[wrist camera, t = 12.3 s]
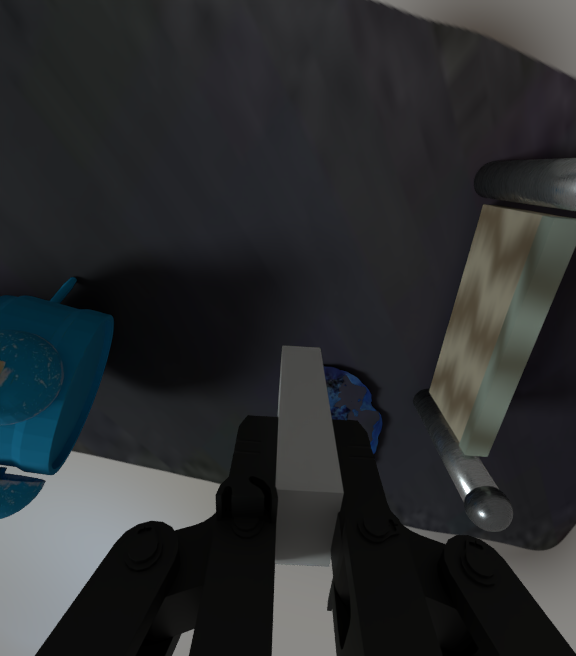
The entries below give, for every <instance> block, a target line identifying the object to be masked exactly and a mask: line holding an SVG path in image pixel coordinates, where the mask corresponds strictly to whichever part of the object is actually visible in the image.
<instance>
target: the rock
mask: <svg viewBox="0 0 576 656" xmlns="http://www.w3.org/2000/svg"><path fill="white" fill-rule="evenodd" d="M323 368H324V374H325V380H326V387H327V393H328V399H329V405H330V411H331V417H332V419H337V420H347V414H348V413H349V412H350V410H349V409H348V408H347V407H346V405H344V406H342V407H341V408H340V409H338V408H339V407H334V405H335V404H336V402H338V401H339V400H340V399H341V398H338V394H339V393H340V392H339V385H341V384H342V383H343V380H342V379H343V376H344V375H346V376H348V377H349V379H350V381H351V382H352V383H353V384H355V385H359V386H364V387H366V386H365V385H364V384H363V383H361V381H360V380H359V379H358V378H357V377H355V376H354V375H352V374H350V373H348V372H346V371H343V370H339V369H337V368H334V367H325V366H323ZM345 386H346V385H345ZM337 388H338V389H337ZM366 389H367V393H366V394H365V396H364V398H363V404H362V406H361V407H360V410H361V411H362V410H371V411H377V410H376V409H374V408H373V407H372V405H371V401H372V399H371V393H370V391H369V389H368V388H367V387H366ZM360 400H361V399H359V400H358V402H359V401H360ZM351 402H352V401H351ZM352 411H353V412H354V415H355V416H358V411H356V410H355V409H354V410H352ZM378 412H379V411H378ZM379 415H380V420H379V421H377V422H376V424H375V425H374V426H373V427H374V431H373V432H372V437H373V440H372V441H371V443H370V444H371V449H372V451H373V454H374V453H375V452H376V446H377V445H378V436H379V433H380V432H381V429H382V417H381V414H380V413H379Z"/></svg>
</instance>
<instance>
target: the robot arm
mask: <svg viewBox="0 0 576 656" xmlns="http://www.w3.org/2000/svg"><path fill="white" fill-rule="evenodd" d="M330 559H331V560H332V569H333V580H332V584H331V589H330V593H329V598H328V607H327V610H328V611H332V610H333V622H334V632H335V643H336V653H337V656H576V653H575V652H574V651H573V649H572V648H571V647H570V646H569V644H568V643H567V642H566V640H565V639H564V638H563V636H562V635H561V634H560V632H559V631H558V630H557V628H556V627H555V626H554V624H553V623H552V622H551V621H550V619H549V618H548V617H547V615H546V614H545V613H544V611H543V610H542V609H541V607H540V606H539V605H538V604H537V602H536V601H535V600H534V598H533V597H532V595H531V594H530V593H529V591H528V590H527V589H526V588H525V586H524V585H523V584H522V582H521V581H520V580H519V578H518V577H517V576H516V574H515V573H514V572H513V571H512V569H511V568H510V566H509V565H508V564H507V563H506V561H505V560H504V559H503V558H502V557H501V556H500V555H499V554H498V553H497V552H496V550H494V548H492V547H491V546H489V545H488V544H486V543H485V542H483V541H482V540H480V539H477V538H474V537H471V536H469V535H456V536H454V537H452V538H451V539H448V541H447V543H446V544H443V543H440V542H438V541H435V540H432V539H429V538H427V537H424V536H421V535H419V534H417V533H415V532H412V531H410V530H409V529H408V528H406V527H405V526H403V525H402V524H401V523H400V521H399V519H398V518H397V517H396V516H395V515H394V514H393V513H392V512H391V511H390V508H389V506H388V504H387V500H386V497H385V493H384V490H383V486H382V483H381V479H380V476H379V472H378V469H377V465H376V462H375V460H374V455H373V451H372V449H371V444H370V441H369V437H368V434H367V432H366V431H365V429H364V428H363V427H362V426H361V424H360V423H359V422H358V421H355V420H337V419H332V417H331V411H330V405H329V399H328V393H327V387H326V380H325V374H324V368H323V362H322V356H321V349H320V348H313V347H297V346H282V358H281V373H280V388H279V403H278V417H267V416H249V415H248V416H247V417H246V418H245V419H244V421H243V422H242V423H241V424H240V426H239V429H238V434H237V439H236V444H235V449H234V454H233V459H232V464H231V469H230V474H229V477H228V478H227V479H226V480H225V481H224V482H223V483H222V484H221V485H220V487H219V489H218V491H217V494H216V513H215V514H214V515H213V516H212V517H210V518H209V519H207V520H206V521H204V522H201V523H199V524H196V525H193V526H190V527H186V528H182V529H179V530H175V531H174V530H173V528H172V527H171V526H169V525H167V524H165V523H164V522H158V521H149V522H145V523H141V524H138V525H136V526H134V527H133V528H131V529H130V530H128V531H126V532H125V533H124V534H123V535H122V536H121V537H120V538H119V539H118V541H117V542H116V543H115V544H114V545H113V547H112V548H111V550H110V551H109V553H108V554H107V555H106V557H105V558H104V559H103V561H102V562H101V564H100V565H99V566H98V568H97V569H96V571H95V572H94V574H93V575H92V576H91V578H90V579H89V581H88V582H87V583H86V585H85V586H84V588H83V589H82V590H81V592H80V594H79V595H78V596H77V597H76V599H75V601H74V602H73V603H72V604H71V606H70V607H69V609H68V610H67V612H66V613H65V614H64V616H63V617H62V618H61V620H60V621H59V623H58V624H57V626H56V627H55V628H54V630H53V631H52V632H51V634H50V635H49V637H48V638H47V639H46V641H45V642H44V644H43V645H42V646H41V648H40V649H39V651H38V652H37V653H36V655H35V656H172V654H173V652H174V650H175V648H176V645H177V643H178V641H179V638H180V636H181V634H182V633H184V632H187V631H189V630H192V629H194V634H193V639H192V644H191V649H190V653H189V656H271V655H272V628H273V602H274V573H275V564H285V565H307V566H329V564H330Z"/></svg>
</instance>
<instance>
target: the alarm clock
mask: <svg viewBox="0 0 576 656" xmlns="http://www.w3.org/2000/svg"><path fill="white" fill-rule="evenodd" d="M76 282H77V279H76V278H74V277H71V278H70V279H69V280H68V281H67V282H65V283H64V284H63V286H62V287H61V288H60V289H59V290H58V292H57V293H56V294H55V295H54V296H53V297H52V299H51V300H50V301H48V300H44V299H40V298H37V297H33V296H20V297H16V296H10V295H4V296H0V465H6V466H13V467H17V468H19V469H21V470H22V471H24V472H31V473H38V474H46V475H54V474H55V473H56V472H57V471H59V469H60V468H61V467H62V465H63V464H64V462H65V460H66V459H67V457H68V456H69V454H70V452H71V450H72V449H73V447H74V445H75V443H76V441H77V439H78V437H79V435H80V432H81V430H82V428H83V426H84V423H85V421H86V419H87V416H88V414H89V412H90V409H91V407H92V404H93V401H94V399H95V396H96V393H97V391H98V388H99V385H100V382H101V379H102V376H103V373H104V369H105V366H106V363H107V359H108V355H109V351H110V347H111V343H112V338H113V331H114V318H113V316H112V315H109V314H105V313H101V312H98V311H94V310H91V309H77V308H73V307H69V306H66V305H62V304H60V303H61V302H62V301H63V299H64V298H65V297H66V296H67V294H68V293H69V292H70V291H71V290H72V288H73V287H74V285H75V283H76ZM6 469H7V468H5V467H0V519H2V518H5V517H8V516H10V515H12V514H14V513H16V512H18V511H20V510H21V509H22V508H24V507H25V506H26V505H28V504H29V503H30V502H31V501H32V500H33V499H34V498H35V497H36V496H37V495H38V493H39V492H40V490H41V489H42V487H43V485H44V483H45V480H42V479H38V478H32V477H27V476H21V475H14V474H5V471H6Z"/></svg>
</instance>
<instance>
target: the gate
mask: <svg viewBox="0 0 576 656" xmlns="http://www.w3.org/2000/svg"><path fill="white" fill-rule="evenodd" d="M575 246H576V218H568V217H562V216H556V215H551V214H545V213H539V212H534V211H528V210H522V209H517V208H511V207H505V206H498V205H484V204H483V208H482V211H481V215H480V218H479V221H478V225H477V228H476V232H475V235H474V239H473V242H472V246H471V249H470V252H469V256H468V259H467V263H466V266H465V270H464V273H463V277H462V280H461V283H460V287H459V290H458V294H457V297H456V301H455V304H454V308H453V311H452V315H451V318H450V321H449V325H448V328H447V332H446V335H445V339H444V342H443V346H442V349H441V352H440V356H439V359H438V363H437V366H436V370H435V373H434V377H433V380H432V384H431V387H430V390H429V393H430V394H431V396H432V398H433V399H434V401H435V403H436V404H437V406H438V408H439V409H440V411H441V412H442V414H443V416H444V417H445V419H446V421H447V422H448V424H449V426H450V427H451V429H452V431H453V432H454V434H455V435H456V437H457V439H458V440H459V442H460V443H459V446H460V448H461V450H462V451H463V453H464V455H468V456H484V457H487V456H488V454H489V452H490V449H491V447H492V445H493V442H494V440H495V437H496V435H497V433H498V430H499V428H500V425H501V423H502V421H503V418H504V416H505V413H506V411H507V409H508V406H509V404H510V402H511V399H512V397H513V394H514V392H515V390H516V387H517V385H518V382H519V380H520V378H521V375H522V373H523V371H524V368H525V366H526V363H527V361H528V359H529V356H530V354H531V351H532V349H533V347H534V344H535V342H536V339H537V337H538V335H539V332H540V330H541V328H542V325H543V323H544V320H545V318H546V316H547V313H548V311H549V308H550V306H551V304H552V301H553V299H554V296H555V294H556V292H557V289H558V287H559V285H560V282H561V280H562V277H563V275H564V273H565V270H566V268H567V265H568V263H569V261H570V258H571V256H572V254H573V251H574V249H575Z"/></svg>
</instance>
